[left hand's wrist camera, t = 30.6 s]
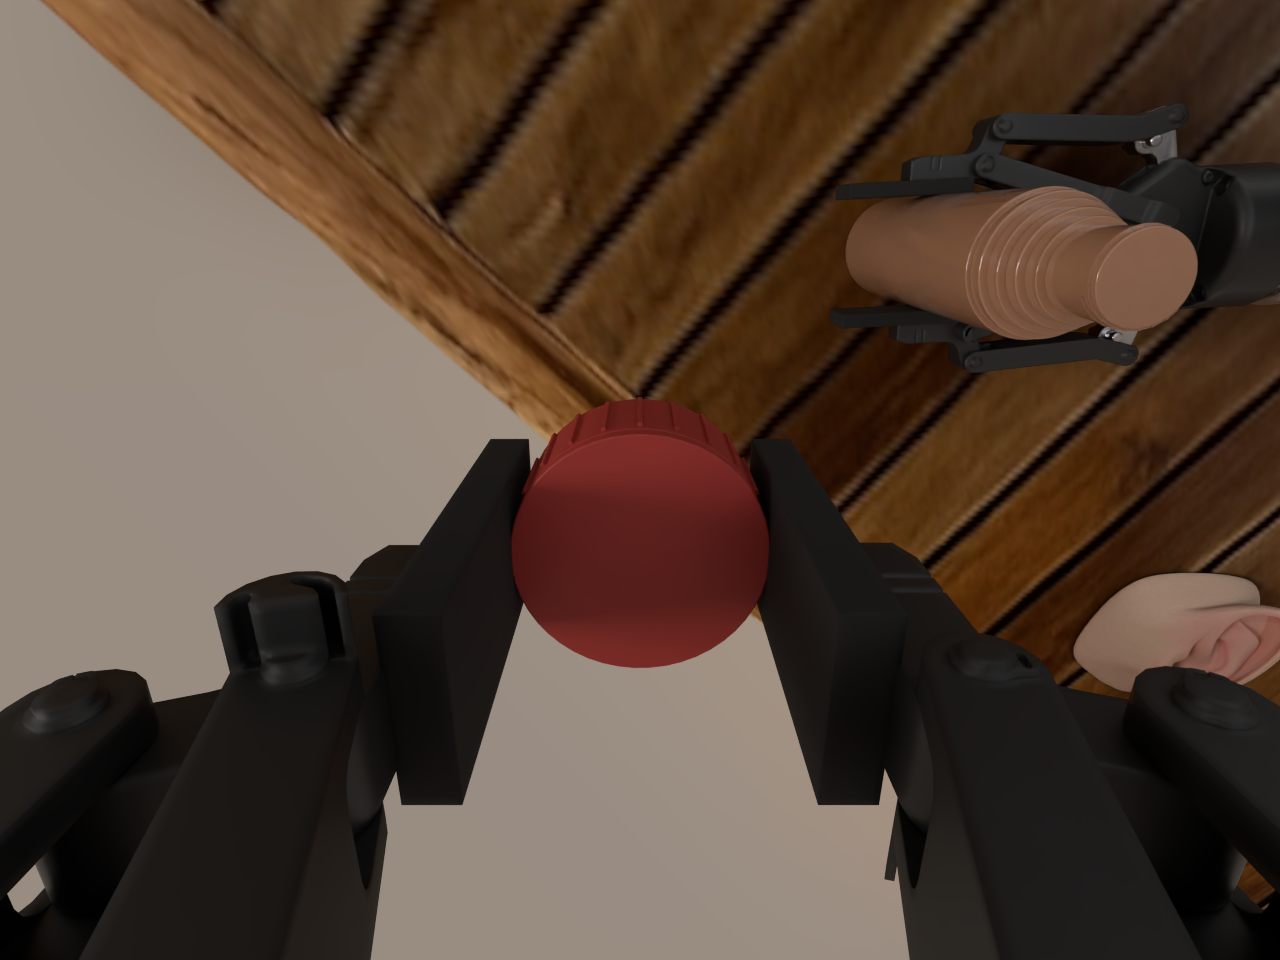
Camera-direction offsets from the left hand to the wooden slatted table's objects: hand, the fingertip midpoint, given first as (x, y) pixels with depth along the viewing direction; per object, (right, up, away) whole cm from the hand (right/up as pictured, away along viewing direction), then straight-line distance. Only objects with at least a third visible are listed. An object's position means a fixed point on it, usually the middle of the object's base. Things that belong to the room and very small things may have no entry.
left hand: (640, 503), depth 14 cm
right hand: (+11, +13, +25) cm, 30 cm away
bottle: (+16, +16, +31) cm, 38 cm away
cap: (0, -1, -2) cm, 2 cm away
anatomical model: (+42, -12, +41) cm, 60 cm away
